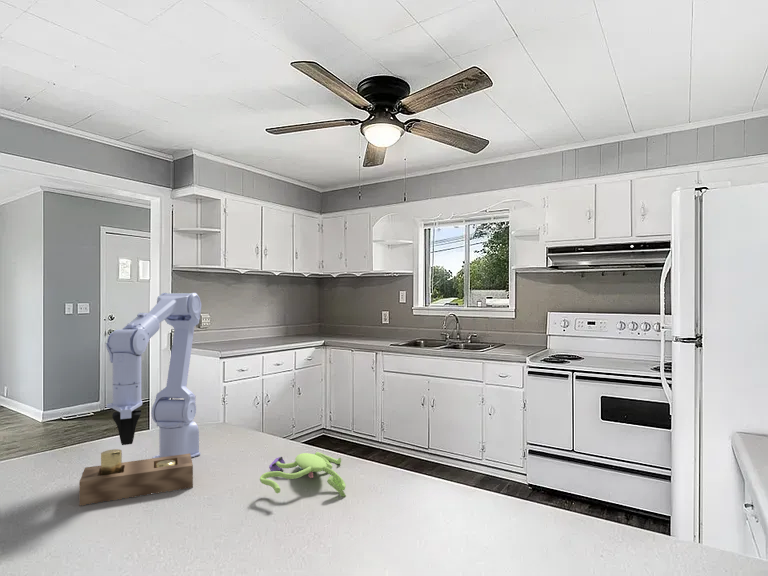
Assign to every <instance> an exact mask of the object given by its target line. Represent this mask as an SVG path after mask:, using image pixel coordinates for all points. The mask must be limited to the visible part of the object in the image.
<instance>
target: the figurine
mask: <svg viewBox="0 0 768 576" xmlns="http://www.w3.org/2000/svg"><path fill="white" fill-rule="evenodd" d="M294 460H295V461H294V462H288V463H287V462H285V460H284V458H283V456H280V457H276V458H275V459H274V460H273V461H272V462H271V463H270V465H268V466H269V470H270V471H267V472H264V473H263V474H262V475H261V476H260V477H259V481H260V483H261V484H263V485H266V486H270V487H271V488H273V490H274V493H276V494H279V493H281V488H280V486H279V484H278V483H277V482H276V481H275V480H272V479H270V478H275V477H276V478H277V477H279V478H283V479H289V480H294V479H295V480H296V479H298V478H301V477H304V476H306V475H308V477H309V478H310V479H313V478H314V473H318V472H324V473H326V474H329V476H328V478H327V480H326V482H327V484H328V485H330V487H332V488H333V489H334V490H335V491H336V492H338V494H339V495H340V496H341V497H345V496H346V497H347V495H346V494H345V492H344V491H345V490H346V486H347V485H346V483H345V480H343V478H342V477H341V476H340V475H339V474H338V473H337V472H336V471H335V470H334V469H332V468H333V465H332V464H331V463H333V462H334V464H336V465H340V464H341V463H342V458H341V457H338V458H334V457H332V456H329V455H326V454H324V453H322V452H319V451H316V452H315V453H310V452H309V453H308V452H304V453H299V454H298V455H296V456H295V459H294ZM329 461H330V462H329ZM296 467H298V468H299V471H298V472H293V473H289V472H287V473H286V472H283V471H281V470H282V469H293V468H296ZM313 472H314V473H313Z"/></svg>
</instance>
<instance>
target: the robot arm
mask: <svg viewBox="0 0 768 576" xmlns="http://www.w3.org/2000/svg"><path fill="white" fill-rule="evenodd" d="M201 311H202V301H201V298H200V296H199V295H198V293H197V292H191V293H189V292H188V293H187V292H186V293H185V292H184V293H182V292H181V293H179V292H178V293H176V292H174V293H173V292H172V293H170V292H168V293H167V292H162V293H160V295H159V296H157V299H156V304H155V305H154V306H153V307H152V308H151V310H150V311H148V312H139V313H137V316H136V317H135V318H133V320H131V321H130V322H129V323H127V324H126V325H125V326H124V327H123V328H122V329H119V328H118V329H115V330H113V331H112V332H111V333H110V334H109V335H108V337H107V342H106V343H105V347H106V350H107V351H106V352H108V355H109V361H110V363H111V364H112V402H110V403H107V404H106V406H105V407H106V409H113V410H115V411H114V412H113V413H112V414H111V415H112V416H111V417H112V419H113V421H114V423H115V425H116V428H117V431H118V435H119V440H120V444H121V446H128V445H132V444H133V443H134V438H135V433H136V428H137V424H138V421H139V419H140V417H141V415H142V408H140V407H141V406H143V400H142V355H143V354H144V353H145V352H146V350H147V348H148V347H147V346H148V344H149V343H150V339H151V338H153V336H154V335H155V334H156V333H158V332H159V330H160V327H161V325H160V324H161V323H162V322H163V321H165V323H167V324H166V325H169V326H171V327H172V328H173V336H172V337H173V338H172V345H171V352H170V358H169V359H170V360H169V365H168V373H167V380H166V385H165V387H164V388H163V389H161V390H159V392H157V393H156V395H155V399H154V403H153V405H152V407H151V412H150V414H151V419H152V420H153V422H154V423H155V424H156V427H158V428H159V430H158V431H159V432H158V433H159V434H158V435H159V436H158V437H159V439H158V440H159V442H158V444H159V446H158V447H159V451H158V452H159V454H157V455H154V456H152V457H151V459H152V458H160V457H167V456H175V455H182V454H189V453H190V454H191V458H194V457H197V456H201V452H200V431H199V430H200V429H199V426H198V424H197V423H196V421H194V419H195V416H196V415H197V405H196V400H197V399H196V396H197V395H195V394H194V392H193V391H192V390H190V389H189V388H188V387H187V385H188V378H189V371H190V370H189V369H190V364H191V363H190V362H191V355H192V349H193V341H194V333H195V327H196V326H198V325H199V324H200V319H201Z"/></svg>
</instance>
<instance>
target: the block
mask: <svg viewBox="0 0 768 576" xmlns="http://www.w3.org/2000/svg"><path fill="white" fill-rule="evenodd" d="M164 460H174V461H175V465H172V466H165V467H158V468H156V464H157V463H158V462H160V461H164ZM193 487H194V465H193V460H192V457H191V454H190V453H189V454H182V455H175V456H167V457H160V458H152V457H151V458H146V459H139V460H131V461H124V462H123V461H122V473H116V474H109V475H102V476H101V464H100V465H95V466H87V467H84V468H83V472H82V475H81V476H80V480H79V488H78V489H79V492H78V493H79V495H78V496H79V498H78V499H79V501H78V503H79V505H78V506H79V507H81V505H82V506H87V505H86V504H89V505H92V504H91V503H95V504H99V503H98V502H101V503H104V502H103V501H107V502H111V501H110V500H113V501H118V500H117V499H119V500H123V499H122V498H125V499H130V498H129V497H132V498H136V497H135V496H138V497H141V496H140V495H144V496H148V495H147V494H150V495H152V494H151V493H156V494H161V493H160V492H162V493H167V492H166V491H168V492H174V491H173V490H175V491H179V489H181V490H186V489H191V488H192V489H193ZM158 492H159V493H158Z"/></svg>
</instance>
